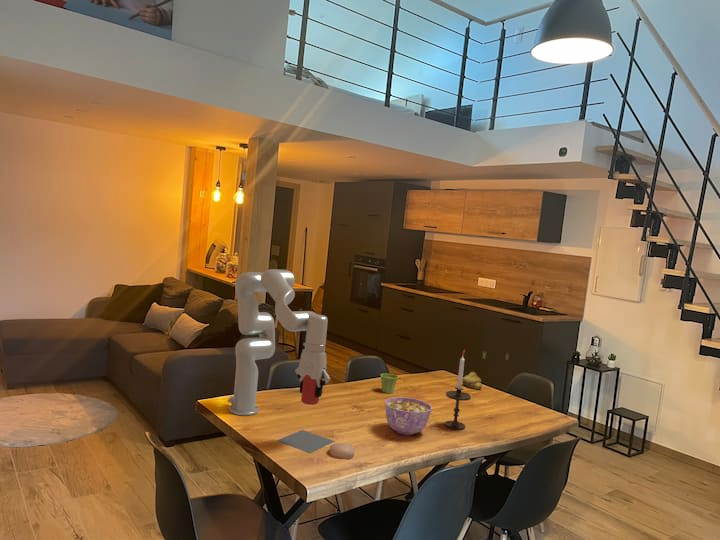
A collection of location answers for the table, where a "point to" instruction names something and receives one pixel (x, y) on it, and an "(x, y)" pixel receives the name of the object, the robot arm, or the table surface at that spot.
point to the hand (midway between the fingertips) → (310, 394)
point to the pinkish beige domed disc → (342, 450)
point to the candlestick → (458, 399)
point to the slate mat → (305, 441)
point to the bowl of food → (407, 414)
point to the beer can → (309, 391)
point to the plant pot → (388, 382)
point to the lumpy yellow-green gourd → (472, 381)
